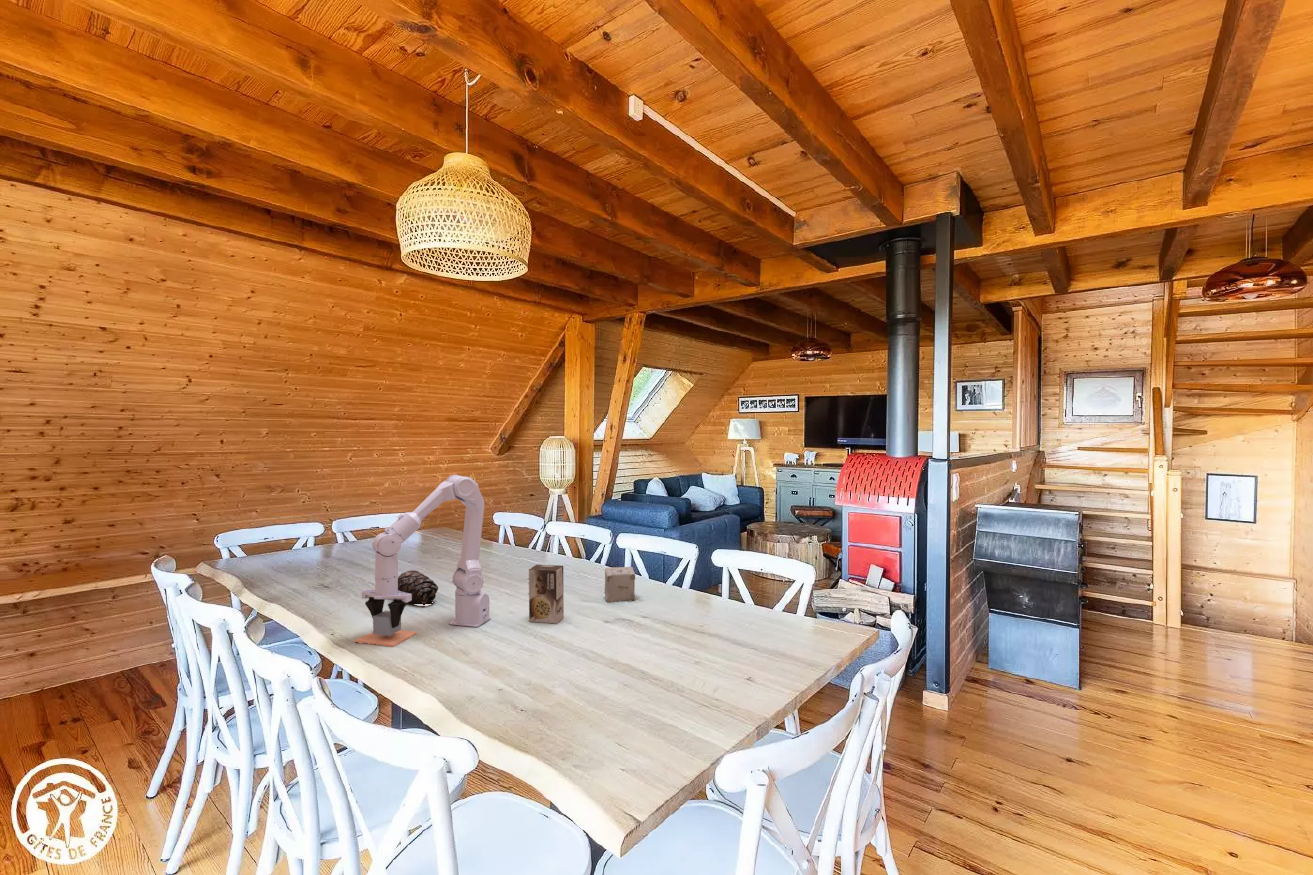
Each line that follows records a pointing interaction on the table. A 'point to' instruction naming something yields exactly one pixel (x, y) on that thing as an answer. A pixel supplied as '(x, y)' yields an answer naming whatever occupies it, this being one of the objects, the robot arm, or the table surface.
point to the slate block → (384, 624)
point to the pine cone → (417, 587)
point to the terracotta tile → (386, 638)
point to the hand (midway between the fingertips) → (386, 625)
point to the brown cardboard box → (619, 584)
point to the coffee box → (546, 594)
